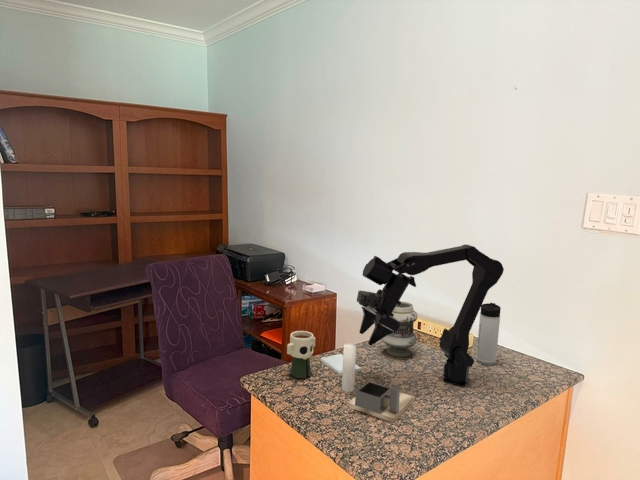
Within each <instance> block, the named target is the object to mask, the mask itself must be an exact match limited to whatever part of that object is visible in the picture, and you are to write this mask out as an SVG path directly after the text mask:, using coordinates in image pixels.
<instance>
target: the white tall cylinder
mask: <svg viewBox="0 0 640 480" xmlns="http://www.w3.org/2000/svg"><path fill="white" fill-rule="evenodd" d="M342 353H343V354H342V355H343V372H342V375H341V376H342V377H341V391H342V392H346V393H352V392H354V391H355V382H356V381H355V380H356V379H355V377H356V372H355V364H356V360H357V358H356V357H357V345H356V344H354V343H345V344H343V352H342ZM356 365H357V364H356Z"/></svg>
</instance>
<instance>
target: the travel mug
mask: <svg viewBox="0 0 640 480" xmlns="http://www.w3.org/2000/svg"><path fill="white" fill-rule="evenodd" d="M501 310H502V309H501V306H500V305H498V304H496V303H493V302H489V303H482V305H481V308H480V311H479V312H480V313H479V321H478V322H479V325H478V337H477V347H476V359H475V361H476V362H477V363H478V364H480V365H482V364H483V366H487V365H492V366H495V365H496V363H497V354H498V344H499V343H498V342H499V332H500V322H501Z"/></svg>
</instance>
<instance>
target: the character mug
mask: <svg viewBox="0 0 640 480" xmlns="http://www.w3.org/2000/svg"><path fill="white" fill-rule="evenodd" d="M314 347H316V337H315V336H314V333H312V332H309V331H308V330H307V331H306V330H295V331H293V332H291V333H290V336H289V343H288V344H287V345H286V354H287V355H290V356H291V357H292V361H291V367H290V376H293V377H295V378H297V379H306V378H307V376H308V378H309V377H310V376H311V375H312V372H311V371H312V370H311V369H312V368H311V361H310V359H311V357H312V355H313V353H314Z"/></svg>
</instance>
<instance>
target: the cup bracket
mask: <svg viewBox="0 0 640 480" xmlns="http://www.w3.org/2000/svg"><path fill="white" fill-rule="evenodd" d="M400 392H401V388H400V387H397V386H395V385H393V386H392V387H389V386H386V385H383V384H380V383H376V382H372V381H370V380H368V381H366V382H365V383H364V384H362V385H361V386H360V387H359V388H357V389H356V390H355V395H354V397H355V406H358V407H361V408H364V409H367V410H370V411H373V412H376V413H379V414H381V413H382V412H383V411H384V410H385V409H386V408H387V407H388V406H389V405H390V407H389V412H390V413H393V414H397V413H398V412H399V397H400Z"/></svg>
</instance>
